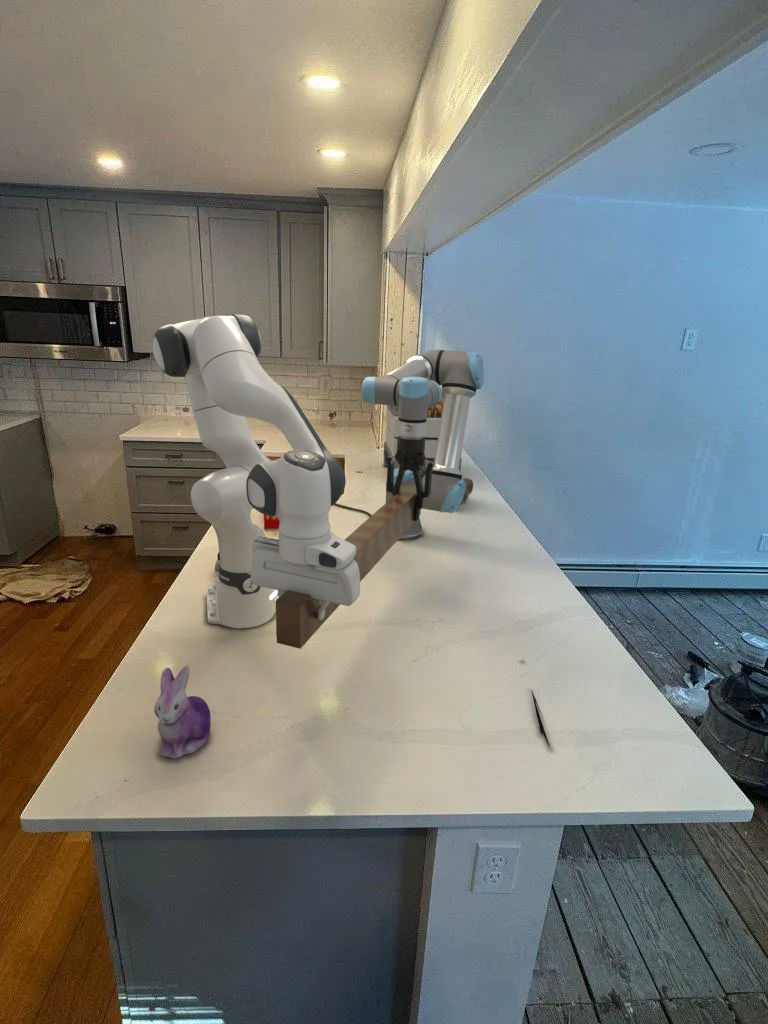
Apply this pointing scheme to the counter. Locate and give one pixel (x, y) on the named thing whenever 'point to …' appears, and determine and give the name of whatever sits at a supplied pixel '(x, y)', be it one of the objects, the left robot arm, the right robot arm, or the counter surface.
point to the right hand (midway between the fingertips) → (406, 517)
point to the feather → (539, 718)
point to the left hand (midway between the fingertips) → (304, 614)
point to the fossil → (467, 490)
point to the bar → (370, 547)
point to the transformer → (430, 437)
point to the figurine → (180, 716)
